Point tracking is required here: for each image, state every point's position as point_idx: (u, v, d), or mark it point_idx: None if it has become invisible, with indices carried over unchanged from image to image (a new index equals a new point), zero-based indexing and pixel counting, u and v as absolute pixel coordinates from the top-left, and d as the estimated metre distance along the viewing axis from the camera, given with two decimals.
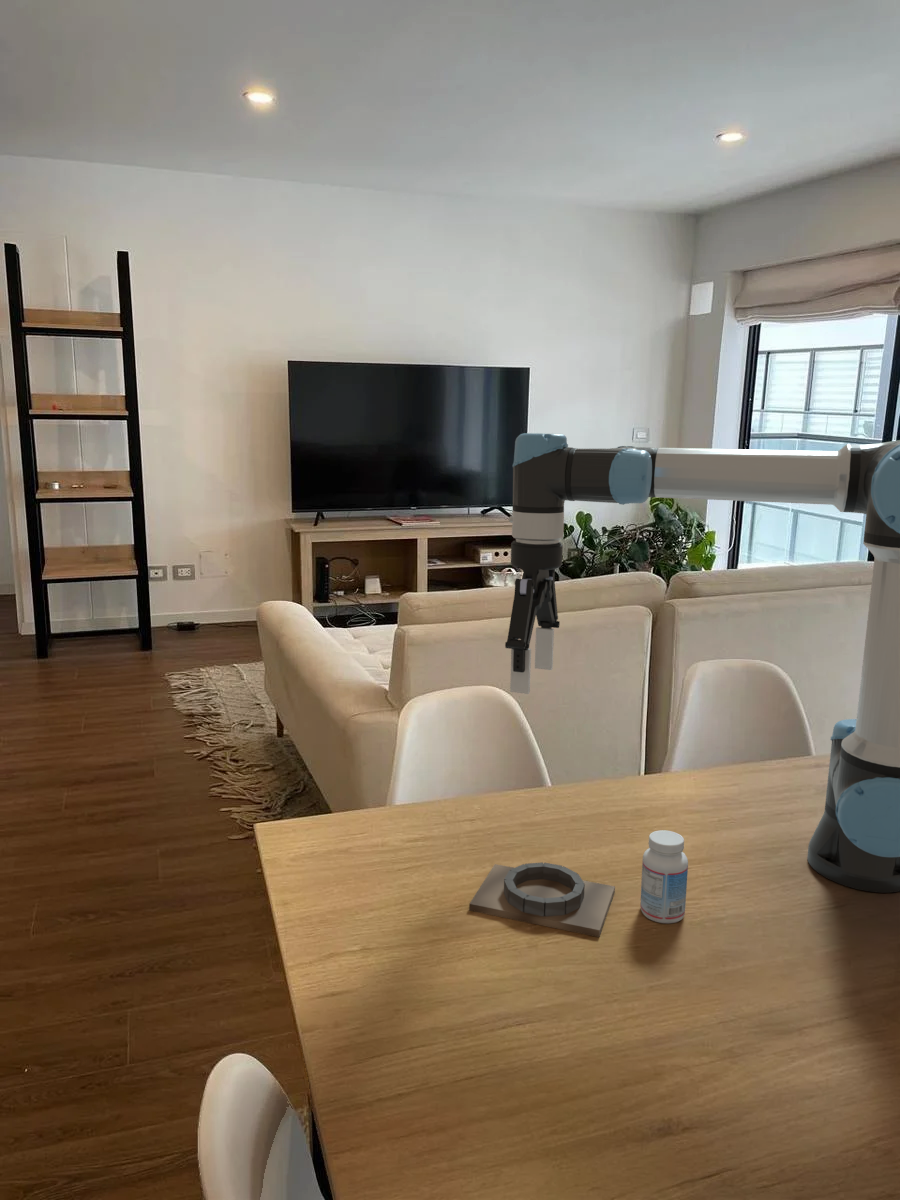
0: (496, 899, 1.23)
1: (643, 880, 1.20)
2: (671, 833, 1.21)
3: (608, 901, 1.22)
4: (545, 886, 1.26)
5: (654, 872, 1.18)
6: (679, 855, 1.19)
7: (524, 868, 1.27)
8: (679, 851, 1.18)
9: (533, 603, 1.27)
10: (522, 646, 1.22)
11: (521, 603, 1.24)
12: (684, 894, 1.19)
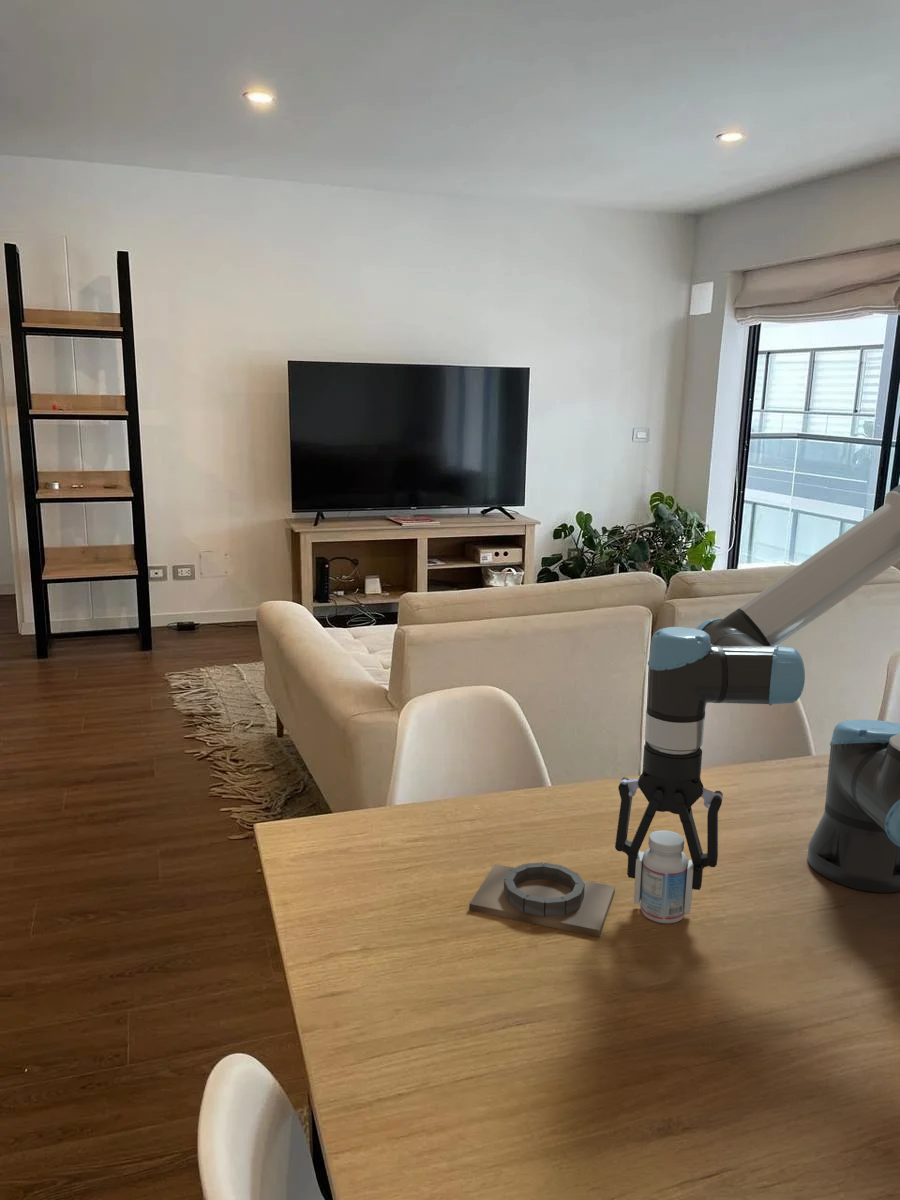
0: (496, 899, 1.23)
1: (643, 880, 1.20)
2: (671, 833, 1.21)
3: (608, 901, 1.22)
4: (545, 886, 1.26)
5: (654, 872, 1.18)
6: (679, 855, 1.19)
7: (524, 868, 1.27)
8: (679, 851, 1.18)
9: (646, 810, 1.19)
10: (616, 848, 1.21)
11: None
12: (684, 894, 1.19)
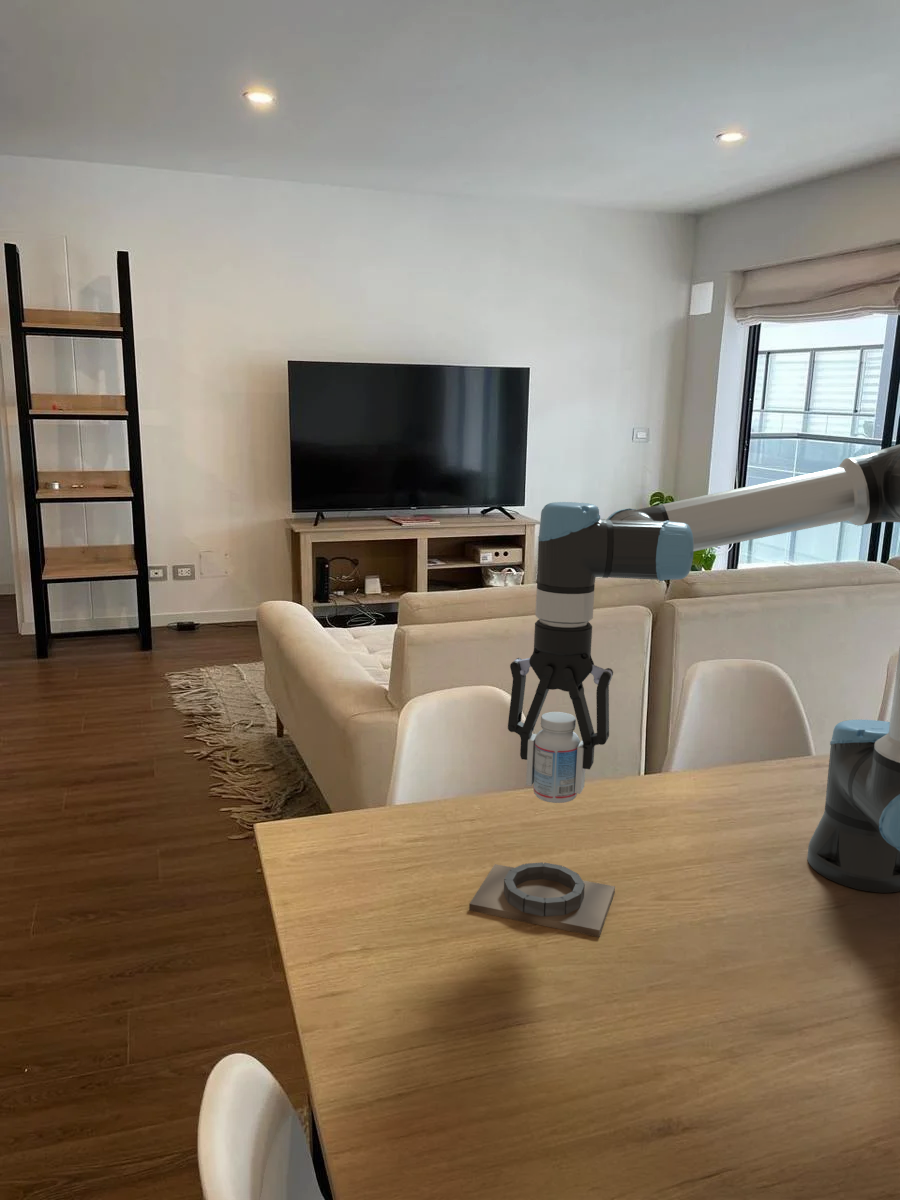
0: (496, 899, 1.23)
1: (535, 760, 1.19)
2: (564, 714, 1.20)
3: (608, 901, 1.22)
4: (545, 886, 1.26)
5: (544, 750, 1.17)
6: (570, 734, 1.18)
7: (524, 868, 1.27)
8: (569, 729, 1.17)
9: None
10: (508, 729, 1.20)
11: None
12: (575, 774, 1.18)
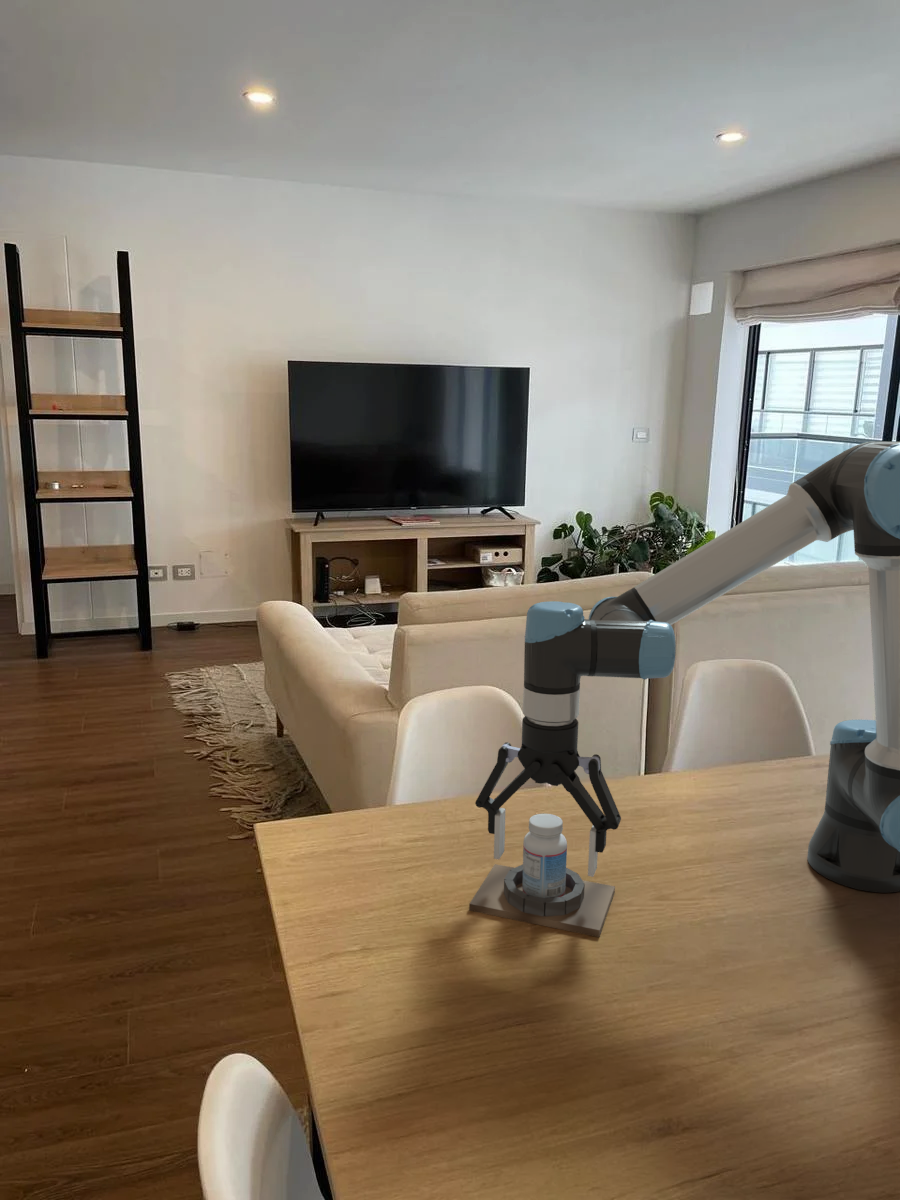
0: (496, 899, 1.23)
1: (523, 862, 1.22)
2: (551, 816, 1.23)
3: (608, 901, 1.22)
4: None
5: (532, 854, 1.20)
6: (557, 837, 1.21)
7: None
8: (557, 833, 1.20)
9: (519, 775, 1.21)
10: (475, 803, 1.24)
11: None
12: (563, 876, 1.21)
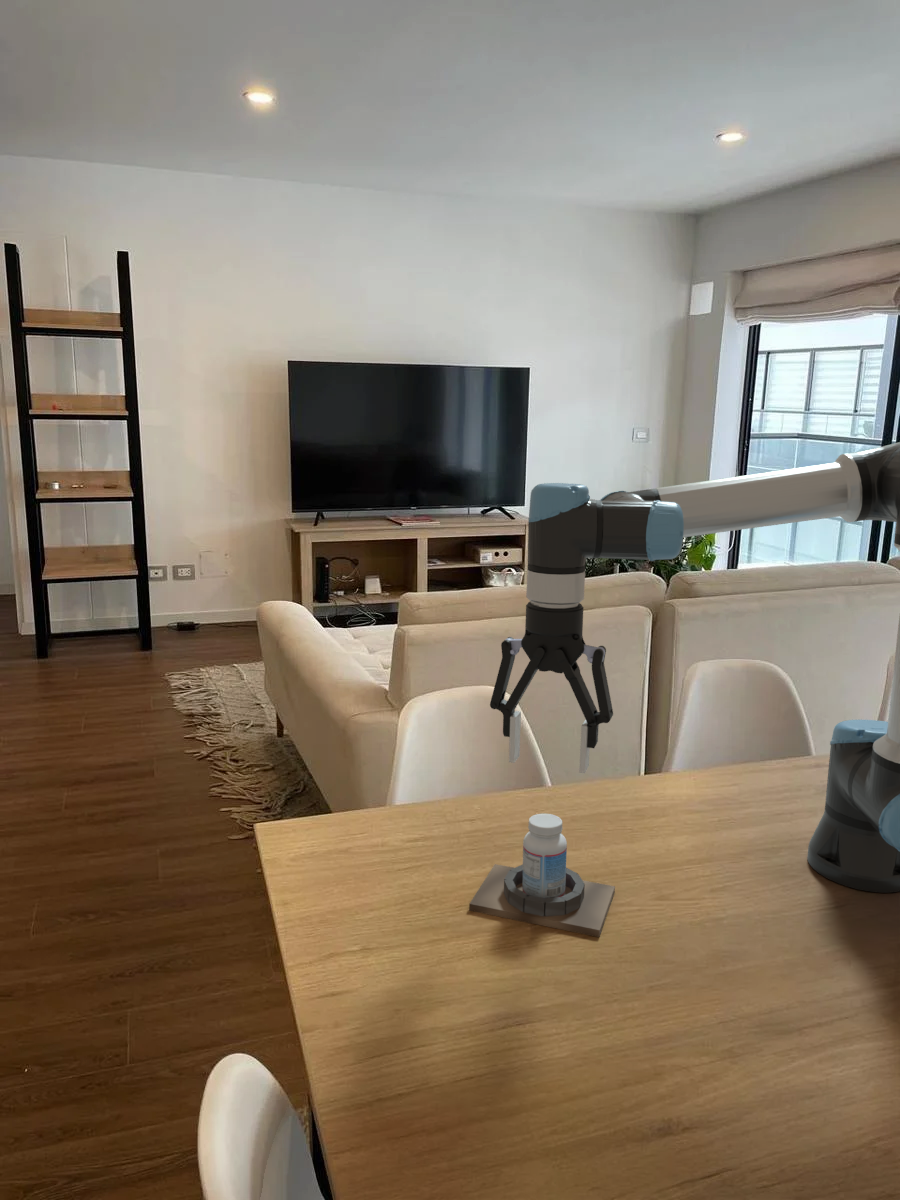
0: (496, 899, 1.23)
1: (523, 862, 1.22)
2: (551, 816, 1.23)
3: (608, 901, 1.22)
4: None
5: (532, 854, 1.20)
6: (557, 837, 1.21)
7: None
8: (556, 833, 1.20)
9: None
10: None
11: None
12: (562, 876, 1.21)
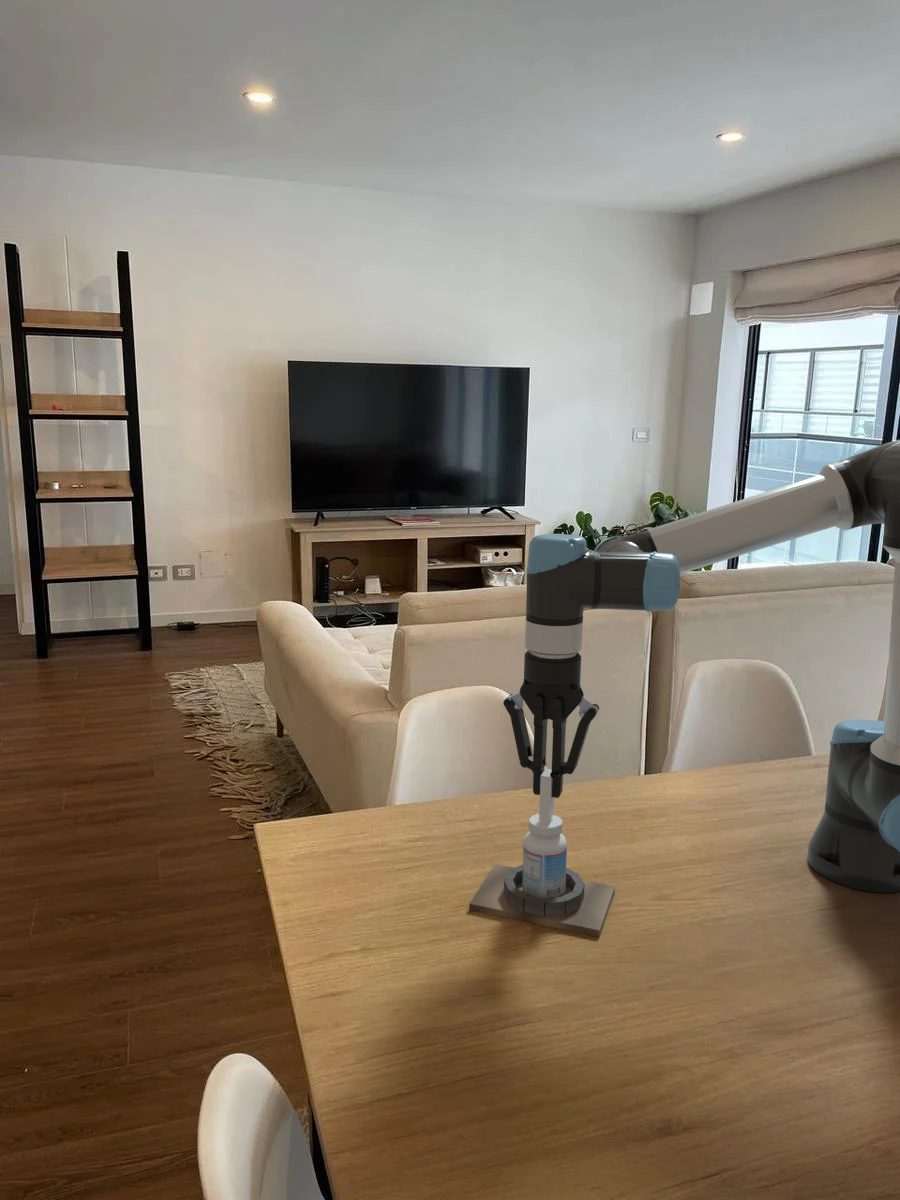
0: (496, 899, 1.23)
1: (523, 862, 1.22)
2: None
3: (608, 901, 1.22)
4: None
5: (532, 854, 1.20)
6: (557, 837, 1.21)
7: None
8: (556, 833, 1.20)
9: None
10: (522, 766, 1.20)
11: None
12: (562, 876, 1.21)
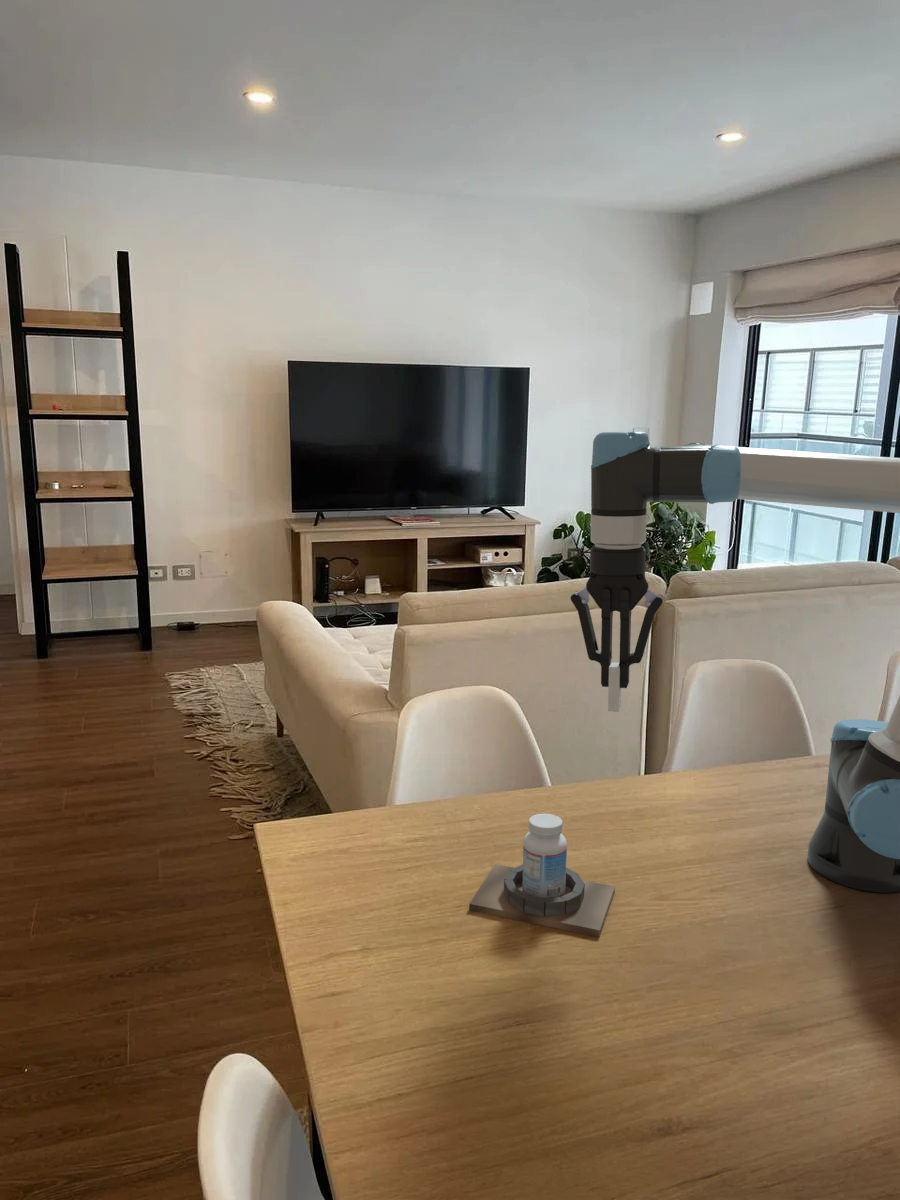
0: (496, 899, 1.23)
1: (523, 862, 1.22)
2: (551, 816, 1.23)
3: (608, 901, 1.22)
4: None
5: (532, 854, 1.20)
6: (557, 837, 1.21)
7: None
8: (556, 833, 1.20)
9: None
10: (590, 659, 1.25)
11: None
12: (562, 876, 1.21)
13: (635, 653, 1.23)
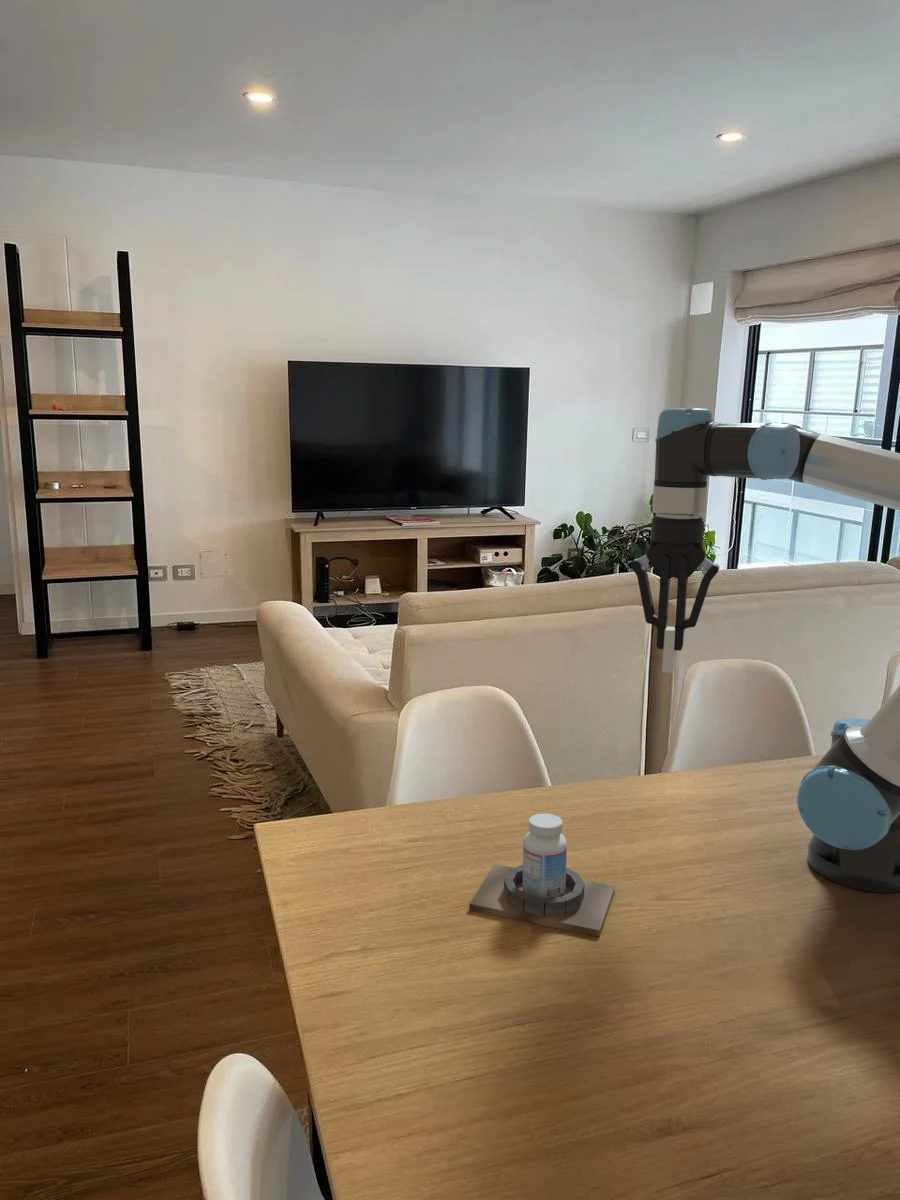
0: (496, 899, 1.23)
1: (523, 862, 1.22)
2: (551, 816, 1.23)
3: (608, 901, 1.22)
4: None
5: (532, 854, 1.20)
6: (557, 837, 1.21)
7: None
8: (556, 833, 1.20)
9: None
10: (647, 622, 1.33)
11: None
12: (562, 876, 1.21)
13: (690, 618, 1.31)
